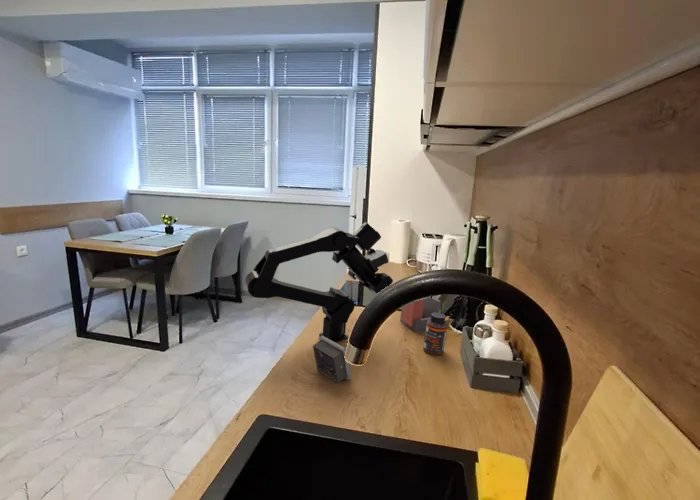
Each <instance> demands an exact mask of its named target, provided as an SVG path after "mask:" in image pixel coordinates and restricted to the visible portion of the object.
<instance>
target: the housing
mask: <svg viewBox="0 0 700 500" xmlns="http://www.w3.org/2000/svg"><path fill="white" fill-rule="evenodd" d="M441 304H442V300H440V299H438V298H436V297H434V296H432V298H427V299H424V306H423V314H422V318H420V319H415V325H414V327H411V326H409V325H408V324H406V323H405V322H403V321H402V320H401V316H402V309H401V310H400V311H401V312H400V317H399V319H400V322H401V323H402V324H403V325H405V326H406V327H408V328H409V329H411V330H412V331H414V332H415V333H422V332H426V325H427V321H428V320H430V319H431V314H432V313H440V312H441V311H440V310H441V306H442V305H441Z"/></svg>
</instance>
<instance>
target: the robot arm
mask: <svg viewBox="0 0 700 500" xmlns="http://www.w3.org/2000/svg"><path fill="white" fill-rule="evenodd" d="M381 239H382V236H381V233H379V231H377V230H376V229H375V228H374V227H372V226H371V225H370V224H369V223H368V222H363V223H362V224H361V226H360V227H359V228H358V229H357V230H356V231H355V232H354V233H353V234H352V233H350V232H345V231H343V230H341V229H340V228H338V227H335V226H332V227H329V228H327V229H324V230H323V231H320V232H319V233H318V234H317V235H315V236H313V237H310V238H307V239H303V240H300V241H299V240H298V241H296V242H292V243H289V244H285V245H282V246H278V247H274V248H269V249H267V250H266V251H265V253H264V255H263V256H262V258H261V259H260V260H259V261H258V262H257V264H256V265H255V267H254V268H253V270H252V271H250V272H249V273H248V274H247V275H246V277H245V278H244V283H245V286H246V289H247V292H248V293H249V294H250V296H251V297H253V298H257V299H258V298H259V299H271V298H282V299H286V300H291V301H295V302H299V303H304V304H309V305H313V306H318V307H321V310H322V312H323V314H324V315H325V317H324V318H323V325H322V326H323V327H322V332H320V333H319V334H318V336H319V337H321V336H324V337H326V338H328V339H330V340H332V341H333V342H335V343H337V342H340V341H342V340H345V339H348V338H349V336H348V335H347V334H346V327H347V323H348V321H349V318H350V316H351V314H352V313H353V312H354V310H355V302H354V301H353V299H352V298H351V297H350V296H349V295H348V294H347V293H346V292H345V291H344V290H343V289H341V288H340V289H337V288H334V287H332V286H330V287H329V290H328V291H321V290H316V289H312V288H310V287H304V286H302V285H301V286H300V285H297V284H294V283H293V284H292V283H289V282H284V281H281V280H278V279H276V278H274V277H275V274H276V273H277V272H276V271H277V269H278V268H279V265H280V264H283V263H286V262H290V261H293V260H296V259H300V258H303V257H306V256H307V257H308V256H310V255H314V254H316V253H331V252H332V258H331V260H332V261H333V262H335V263H336V264H339V263H340V262H343V263H344V264H345V265H346V267H347V269H348V272H347V273H348V276H349V277H350V278H351V279H352V280H354V281H356V280H358V283H359V284H360V285H361V286H363V287H365V288H368V290H369V291H371V292H372V293H374V294H376V295H377V293H378V292H380V291H381V290H382V289H384V288H385V287H387V286H389V285H390V284H391V285H392V283H393V282H394V279H393V278H392V277H391V276H390V275H389V274H386V273H385V272H380V273H379V272H378V271H379V270H380V269H379V267H382V266H384V265H386V264H388V263H389V258H388V255H387V252H386V251H384V250H381V249H376V250H375V249H374V248H373V246H375V244H377V243H378V241H379V240H381ZM361 251H362V252H364V251H366V256H364V254H363V253H362V252H361ZM391 285H390V286H391ZM390 286H389V287H390Z"/></svg>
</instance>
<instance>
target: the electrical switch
mask: <svg viewBox="0 0 700 500" xmlns="http://www.w3.org/2000/svg"><path fill="white" fill-rule="evenodd" d="M318 339H319V340H318V341H317V342H316V343H315V344H313V345H312V350H313V355H314V358H315V363H316V364H315V365H316V369H317V370H318V371H319V372H320V373H322V374H323V375H325V376H326V377H328V378H330V380H333V382H335V383H337V384H339V383H340V382H342V381H344V380H345V379H346V380H348V381H349V380H350V379H351V378H352V374H351V367H350V362H349V363H347V362H346V361H345V358H344V356H345V351H346V350H347V348H346V347H344V346H342V345H340V344H339V343H337V342H333V341H332V340H330V339H328V338H326V337H324V336H319V338H318ZM332 372H333V373H332Z"/></svg>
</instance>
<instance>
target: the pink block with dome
mask: <svg viewBox="0 0 700 500" xmlns="http://www.w3.org/2000/svg"><path fill="white" fill-rule="evenodd" d="M423 306H424V299H423V300H419V301H416V302H414V303H411V304H409V305H407V306H406V307H404V308H401V310H402V316H401V315H400V318H401V320H402V321H403V322H405V323H406V324H408V325H409V326H411V327H414V325H415V319H420V318H422V314H423Z"/></svg>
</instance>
